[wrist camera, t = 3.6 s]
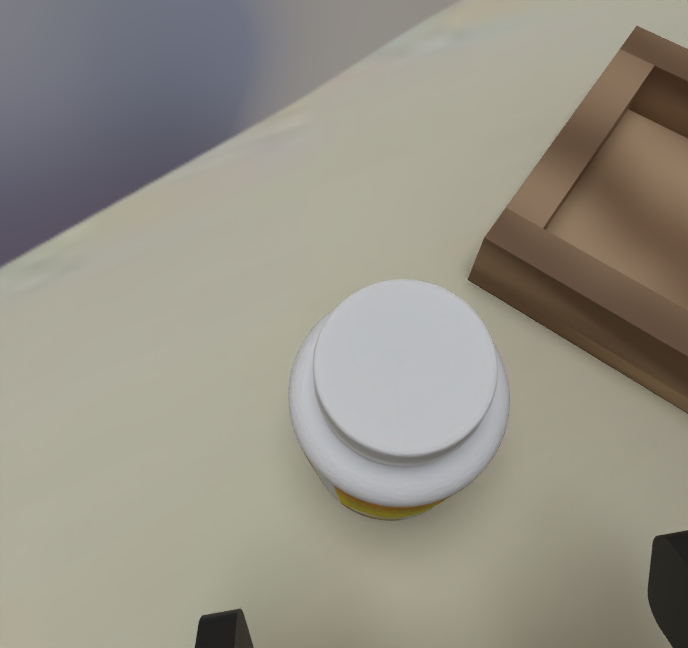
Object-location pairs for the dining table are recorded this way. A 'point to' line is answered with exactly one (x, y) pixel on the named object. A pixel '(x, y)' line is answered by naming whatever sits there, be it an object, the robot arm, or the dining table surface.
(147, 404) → the dining table surface
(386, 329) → the supplement bottle
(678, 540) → the robot arm
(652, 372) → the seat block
